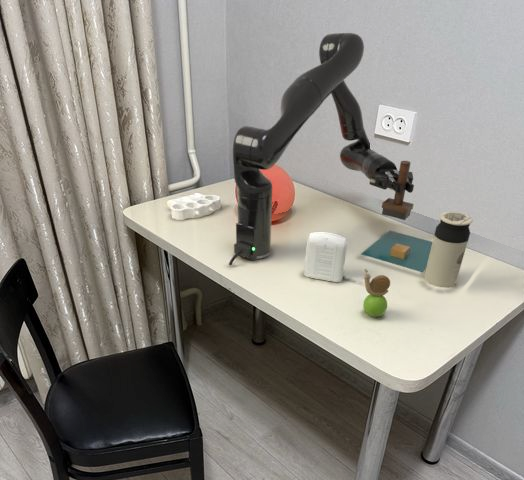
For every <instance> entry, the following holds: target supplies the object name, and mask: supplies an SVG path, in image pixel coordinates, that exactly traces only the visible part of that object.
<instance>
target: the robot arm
mask: <svg viewBox="0 0 524 480" xmlns="http://www.w3.org/2000/svg"><path fill="white" fill-rule="evenodd" d="M364 52H365V43H364V40H363V39H362V37H361V36H360V35H359V34H357V33H353V32H340V33H339V32H338V33H336V32H335V33H329V34H328V33H327V34H326V35H325V36H324V37H322V39H321V41H320V44H319V49H318V55H319V56H318V57H319V62H320V64H318V65H317V66H315V67H313V68H310V69H309V70H307V71H305V72H303V73H302V74H299V76H298V77H296V78H295V79H294V80H293V82H292V83H291V84H290V85H289V86H288V87H287V88H286V90H284V92H283V94H282V96H281V99H280V117H279V119H278V120H277V122H276V123H274V125H273V126H272V127H270V128H268V129H265V128H260V127H255V126H250V125H244V126H241V127H240V128H238V129H237V131H236V133H235V136H234V138H233V144H232V162H233V177H234V178H233V179H234V183H235V186H236V189H237V191H236V192H237V222H236V223H235V241H236V243H234V244H233V245H234V246H233V253H234V255H233V257H232V258H230V260H229V262H228V265H229V266H232V265H233V263H234V261H235V260H236V258H237V257H242V258H245V259H248V260H250V261H253V262H254V261H255V260H256V261H257V260H261V259H265V258H268V257H269V256H270V255H271V254H272V217H273V216H272V213H273V183H272V181H271V179H269V178H268V177H267V176H266V175H265V174H263V172H262V171H263V170H265V171H266V170H269V169H271V168H273V167H274V166H275V165H276V164H277V163H278V162H279V160H280V158H282V156H283V154H284V153H285V152H286V150H287V148H288V146H289V145H290V144H291V143H292V141H293V139H294V138H295V137H296V136H297V134H298V133H299V131H300V130H301V129H302V128H303V127H304V125H305V124H306V123H307V121H309V119H310V118H311V117H313V115H314V114H315V113H316V112H317V110H318V109H319V108H320V107H321V105H322V104H323V103H324V102H325V100H326V99H327V98H329V96H330V95H331V98H332V99H333V102H334V105H335V109H336V113H337V117H338V122H339V127H340V133H341V136H342V138H343V140H344V141H348V142H350V141H353V142H351V143H349V144H347V145H345V146H343V147H342V149H341V150H340V152H339V159H340V162H341V164H342V165H343V166H344V167H345V168H346V169H348V170H351V171H356V172H361V174H364V176H365V177H366V178H367V179H368V180H369V185H370V186H373V187H376V188H379V189H382V190H385V191H386V190H388V189H389V190H391V191H394V193H395V192H397V193H398V194H401V193H402V189H403V186H402V185H401V184H399V183H398V182H397V180H398V175H399V170H398V168H397V165H396V164H395V162H393V161H392V160H390V159H388V158H387V157H386V156H384V155H382V154H379V152H377V151H376V150H374V149H373V150H371V149H370V143H371V141H370V139H369V137H368V135H367V133H366V130H365V126H364V120H363V119H364V118H363V113H362V109H361V105H360V104H359V102H358V99H356V97H355V95H354V94H353V93H352V91H351V89H350V88H349V86H348V85H347V83H346V82H345V80H346V79H347V78H348V77H350V75H351V74H353V73H354V71H356V69H357V68H358V67H359V65H360V64H361V62H362V59H363V56H364V54H365V53H364ZM369 141H370V142H369ZM261 170H262V171H261ZM413 174H414V173H413V172H412V171H409V174H408V179H407V184H406V189H405V192H407V193H413V191H414V188H415V185H414V184H413V181H414V175H413ZM264 175H265V176H266V177H265V176H264Z"/></svg>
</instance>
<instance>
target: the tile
mask: <svg viewBox="0 0 524 480" xmlns="http://www.w3.org/2000/svg"><path fill="white" fill-rule="evenodd" d="M432 242H433V241H431V240H427V239H424V238H419V237H416V236H412V235H408V234H405V233H402V232H397V231H393V230H390V229H389V230H388V231H386V233H384V234H383V235H382V236H381V237H379V238H378V239H377V240H376V241H374V242H373V243H372V244H370V246H369V247H367V248H366V249H365V250H364V251H363V252H362V253H361V255H363V256H366V257H369V258H371V259H376V260H379V261H382V262H386V263H390V264H392V265H395V266H399V267H402V268H406V269H409V270H412V271H416V272H420V273H425V271H426V267H427V263H428V259H429V255H430V251H431V246H432ZM396 244H401V245H405V246H408V247H410V251H409V254H408V255H407V256H406V257H405V258H404V259H400V258H397V257H394V256H390V253H391V248H392V247H393V246H395V245H396Z"/></svg>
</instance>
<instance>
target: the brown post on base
mask: <svg viewBox="0 0 524 480" xmlns="http://www.w3.org/2000/svg"><path fill="white" fill-rule="evenodd" d="M410 168H411V161H409V160H401V161H400V165H399V170H398V171H399V175H398V180H397V182H398V183H399V184H401V185H402V186H403V189H402V193H401V194H398V193H397V192H395V191H394V196H393V197H394V198H391V197H388V198H387V199H386V200H384V201H382V203H381V208H382V211H381V215H383V216H386V217H391V218H395V219H398V220H403V221H405V220H407V219H408V218H409V217H410V216H411V212H412V210H413V209H414V203H412V202H407V201H404V199H405V194H406V190H405V189H406V184H407V179H408V174H409V172H410Z"/></svg>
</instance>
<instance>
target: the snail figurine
mask: <svg viewBox="0 0 524 480" xmlns="http://www.w3.org/2000/svg"><path fill="white" fill-rule="evenodd" d="M364 272H365V273H364V275H363V279H364V288H365V291H366V293H368V295H367V296H366V297H365V298H364V300H363V304H362V306H363V310H364V312H365V313H366V314H367V315H368V316H370V317H380V316H381V315H383V314H385V312H386V310H387V309H388V300H387V298H386V297H385V295H386V294H387V293H389V290H388V289H390V286H391V280H390V278H389V277H388V276H387V275H383V274H379V275H376V276H375V277H373V278H371V274H370V273H369V269H367V268H365V269H364ZM370 279H371V280H370Z"/></svg>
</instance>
